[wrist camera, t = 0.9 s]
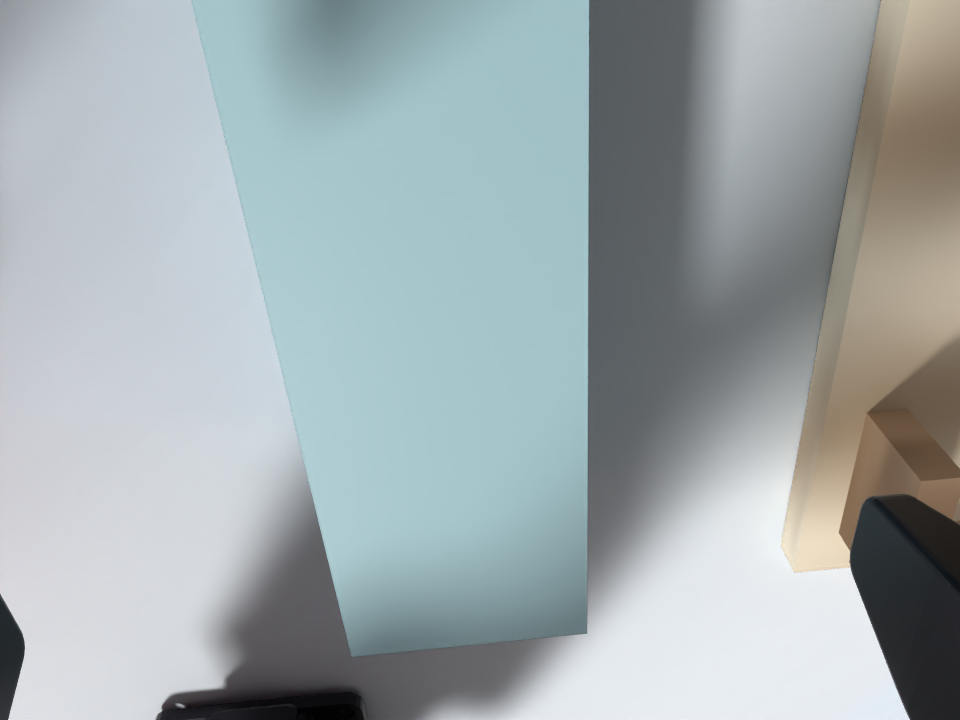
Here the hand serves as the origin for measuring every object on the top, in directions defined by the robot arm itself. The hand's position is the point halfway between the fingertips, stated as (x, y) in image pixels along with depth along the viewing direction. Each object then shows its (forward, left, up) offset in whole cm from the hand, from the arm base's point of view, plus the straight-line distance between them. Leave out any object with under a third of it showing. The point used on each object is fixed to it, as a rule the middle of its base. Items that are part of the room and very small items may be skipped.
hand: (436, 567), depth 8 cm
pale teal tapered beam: (0, 0, -10) cm, 10 cm away
